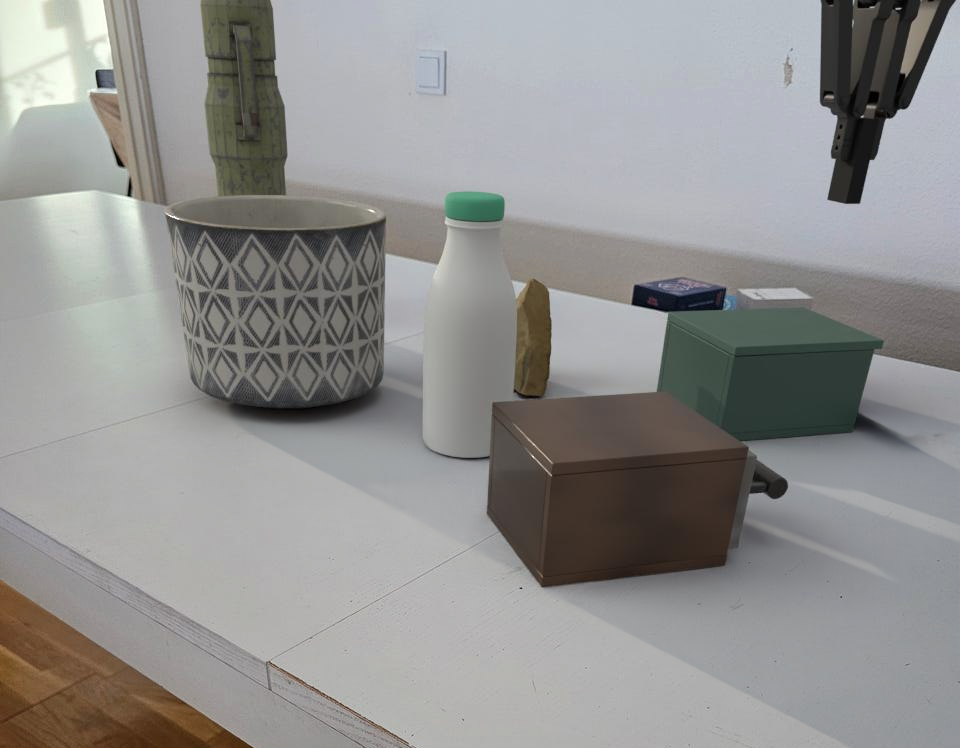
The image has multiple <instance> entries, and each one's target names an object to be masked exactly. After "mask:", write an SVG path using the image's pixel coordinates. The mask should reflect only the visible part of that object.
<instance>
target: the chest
mask: <svg viewBox="0 0 960 748" xmlns="http://www.w3.org/2000/svg"><path fill="white" fill-rule="evenodd" d="M874 353H875V349H870V350H849V351H829V352H808V353H787V354H767V355H746V356H734V355H732V354H730V353H728V352H726V351H724V350H723V349H721V348H719V347H717V346H715V345H713V344H711V343H710V342H708V341H706V340H704V339H702V338H700V337H698V336H696V335H695V334H693V333H691V332H689V331H687V330H685V329H683V328H682V327H680V326H678V325H676V324H674V323H672V322H670V321H668V320H667V321H666V326H665V331H664V338H663V346H662V353H661V360H660V367H659V373H658V379H657V387H656V392H664V391H665V392H667V393H669V394H670V395H672V396H673V397H675V398H676V399H678V400H679V401H681V402H682V403H684V404H685V405H687V406H688V407H690V408H691V409H693V410H694V411H696V412H697V413H699V414H700V415H702V416H703V417H704V418H706V419H707V420H709V421H710V422H712V423H713V424H715V425H716V426H718V427H719V428H721V429H722V430H724V431H725V432H727V433H728V434H730V435H731V436H733V437H734V438H736V439H737V440H739V441H740V442H744V441H745V442H746V441H755V440H767V439H769V440H771V439H779V438H780V439H782V438H793V437H805V436H806V437H807V436H819V435H829V434H831V435H832V434H843V433H852V432H853V431H854V427H855V424H856V420H857V416H858V413H859V409H860V406H861V402H862V397H863V394H864V390H865V386H866V383H867V380H868V375H869V372H870V368H871V365H872V361H873V357H874Z"/></svg>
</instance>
